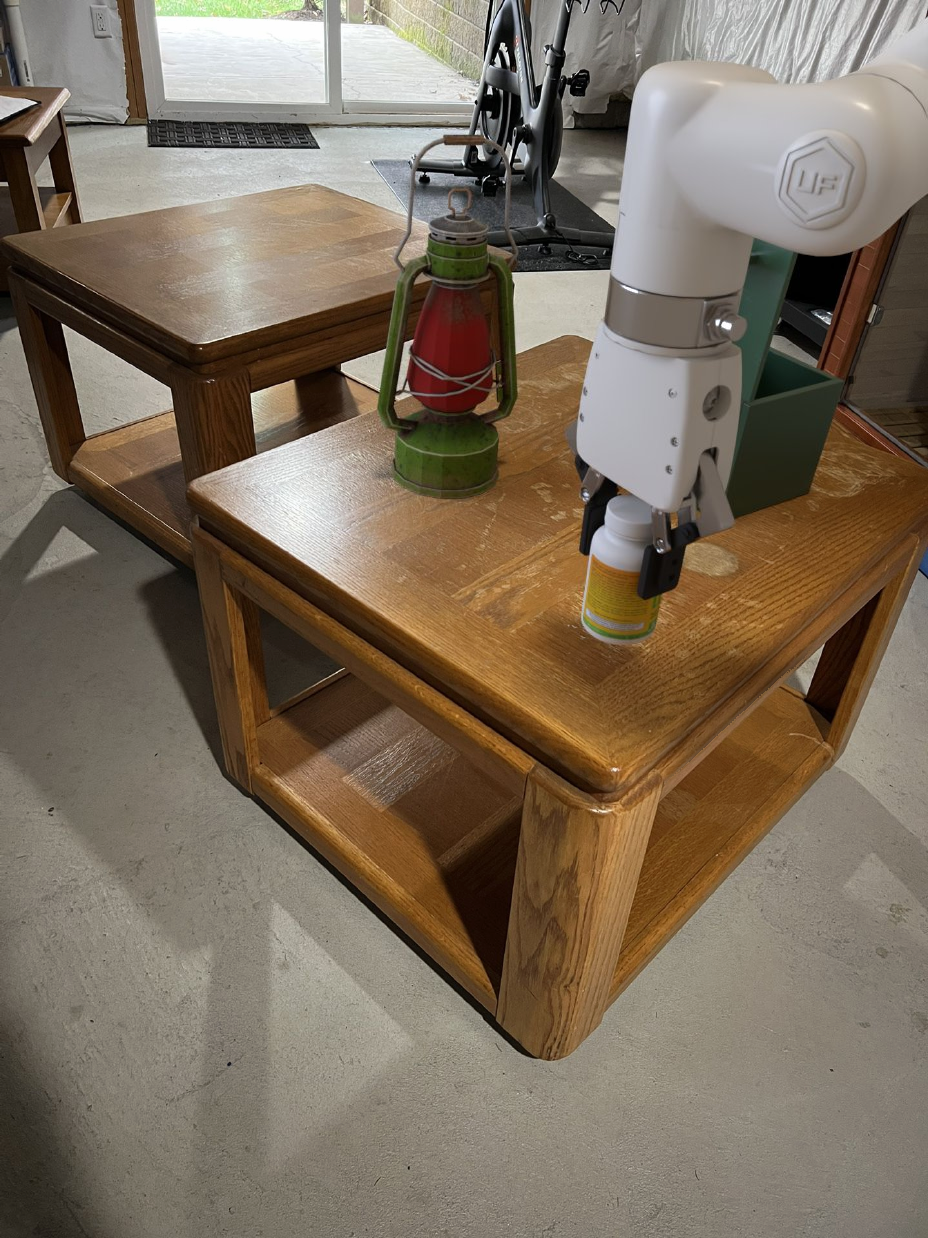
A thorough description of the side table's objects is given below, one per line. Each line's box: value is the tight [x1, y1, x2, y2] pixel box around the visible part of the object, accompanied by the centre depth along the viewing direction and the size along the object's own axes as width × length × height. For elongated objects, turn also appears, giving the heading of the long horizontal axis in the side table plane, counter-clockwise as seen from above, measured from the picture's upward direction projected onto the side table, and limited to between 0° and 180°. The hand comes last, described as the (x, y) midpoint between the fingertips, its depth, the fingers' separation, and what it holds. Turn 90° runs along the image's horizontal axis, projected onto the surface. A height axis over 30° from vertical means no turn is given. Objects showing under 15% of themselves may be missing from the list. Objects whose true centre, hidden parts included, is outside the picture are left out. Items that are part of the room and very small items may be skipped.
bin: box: [696, 346, 846, 519], centre depth 90 cm, size 13×12×12 cm
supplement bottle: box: [580, 493, 663, 646], centre depth 65 cm, size 5×5×10 cm
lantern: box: [376, 134, 519, 499], centre depth 83 cm, size 14×11×30 cm
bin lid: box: [732, 237, 799, 402], centre depth 79 cm, size 14×12×5 cm
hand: (626, 568), depth 65 cm, fingers closed on supplement bottle, 5 cm apart
